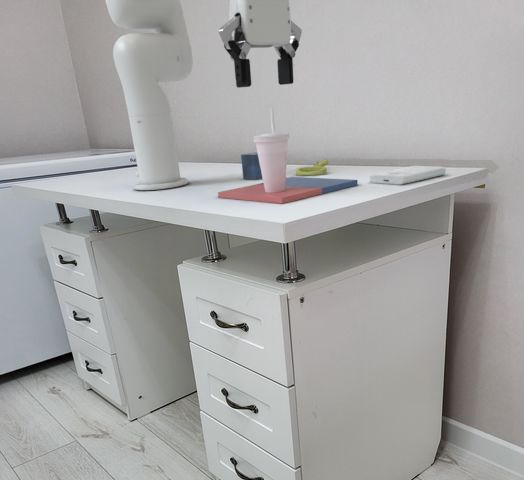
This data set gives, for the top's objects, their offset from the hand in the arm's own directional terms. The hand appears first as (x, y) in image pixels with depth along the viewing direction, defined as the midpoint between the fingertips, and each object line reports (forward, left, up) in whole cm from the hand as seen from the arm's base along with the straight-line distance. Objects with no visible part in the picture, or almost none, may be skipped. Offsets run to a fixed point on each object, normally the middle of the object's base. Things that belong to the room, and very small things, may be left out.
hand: (265, 85), depth 92 cm
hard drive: (+13, +24, -19) cm, 33 cm away
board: (-1, +5, -19) cm, 19 cm away
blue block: (-24, +17, -19) cm, 35 cm away
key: (-16, +28, -19) cm, 37 cm away
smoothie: (0, 0, -18) cm, 18 cm away
